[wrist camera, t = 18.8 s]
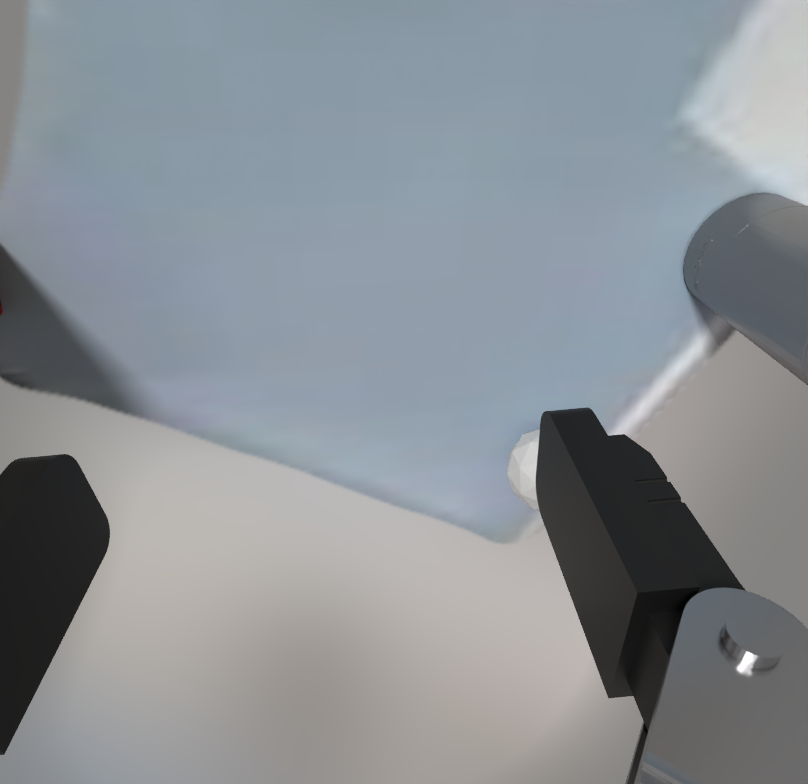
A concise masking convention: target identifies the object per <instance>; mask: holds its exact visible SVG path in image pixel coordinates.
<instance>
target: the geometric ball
mask: <svg viewBox="0 0 808 784" xmlns="http://www.w3.org/2000/svg"><path fill="white" fill-rule="evenodd" d="M539 434H540V429H537V430H534V431H531V432H528V433H525V434H523V436H522V437H521V438H520V440H519V441H518V442H517V444H516V445H515V446H514V448H513V449H512V450H511V452H510V453H509V461H508V468H507V475H508V478H509V481H510V484H511V487H512V489H513V492H514V494H515V495H516V496H517V497H518V498H520V499H521V500H522V501H523V502H525V503H526V504H527V505H528V506H529V507H531V508H532V509H533V510H539V506H538V501H537V495H536V468H537V457H538V445H539Z"/></svg>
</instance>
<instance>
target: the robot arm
mask: <svg viewBox="0 0 808 784" xmlns="http://www.w3.org/2000/svg"><path fill="white" fill-rule="evenodd" d="M683 270H684V279H685V282H686V285H687V287H688V289H689V290H690V292H691V293H692V294H693V296H694V297H696V298H697V299H698V300H700V301H701V302H702V303H703V304H705V305H706V306H707V307H709V308H710V309H711V310H712V311H714V312H715V313H716V314H717V315H719V316H720V317H721V318H722V319H723V320H725V321H726V322H727V323H729V324H730V325H731V326H732V327H734V328H735V329H736V330H738V331H739V332H740V333H741V334H743V335H744V336H745V337H747V338H748V339H749V340H750V341H752V342H753V343H754V344H755V345H757V346H758V347H759V348H761V349H762V350H763V351H765V352H766V353H767V354H768V355H770V356H771V357H772V358H774V359H775V360H776V361H777V362H779V363H780V364H781V365H782V366H784V367H785V368H787V369H788V370H789V371H790V372H791V373H793V374H794V375H796V376H797V377H798V378H799V379H800V380H802V381H803V382H804V383H806V384H807V385H808V206H806V205H804V204H801V203H798V202H796V201H793V200H790V199H788V198H785V197H782V196H780V195H777V194H770V193H756V194H750V195H747V196H743V197H740V198H738V199H736V200H734V201H732V202H730V203H728V204H726V205H724V206H723V207H722V208H720V209H719V210H717V211H716V212H715V213H713V214H712V215H711V216H710V217H709V218H708V219H707V220H706V221H705V222H704V223H703V225H702V226H701V227H700V228H699V230H698V231H697V232H696V234H695V235H694V237H693V239H692V241H691V243H690V245H689V247H688V250H687V253H686V256H685V260H684V269H683ZM536 495H537V501H538V506H539V510H540V513H541V516H542V519H543V522H544V524H545V527H546V530H547V532H548V535H549V538H550V541H551V543H552V546H553V549H554V551H555V554H556V557H557V560H558V562H559V565H560V568H561V571H562V573H563V576H564V579H565V581H566V584H567V587H568V590H569V592H570V595H571V598H572V600H573V603H574V606H575V608H576V611H577V614H578V617H579V619H580V622H581V625H582V627H583V630H584V633H585V636H586V638H587V641H588V644H589V647H590V649H591V652H592V655H593V657H594V660H595V663H596V665H597V668H598V671H599V674H600V676H601V679H602V682H603V685H604V687H605V690H606V693H607V695H608V698H615V697H625V696H634V698H635V701H636V703H637V706H638V708H639V711H640V713H641V716H642V718H643V720H644V721H643V724H642V727H641V730H640V734H639V738H638V741H637V744H636V748H635V752H634V755H633V759H632V762H631V766H630V769H629V773H628V776H627V780H626V784H808V629H807V628H806V627H805V626H804V625H803V623H802V622H800V621H799V620H798V619H797V618H796V617H795V616H794V615H792V614H791V613H789V612H788V611H787V610H786V609H784V608H783V607H781V606H779V605H778V604H776V603H774V602H773V601H771V600H769V599H767V598H764V597H762V596H760V595H757V594H755V593H752V592H748V591H746V590H745V589H744V588H743V587H742V585H741V584H740V583H739V581H738V580H737V578H736V577H735V575H734V574H733V573H732V571H731V570H730V568H729V567H728V565H727V564H726V562H725V561H724V560H723V558H722V557H721V555H720V554H719V552H718V551H717V549H716V548H715V547H714V545H713V543H712V542H711V541H710V539H709V538H708V536H707V535H706V534H705V532H704V531H703V529H702V527H701V526H700V525H699V523H698V522H697V520H696V519H695V517H694V516H693V514H692V513H691V511H690V510H689V509H688V507H687V506H686V504H685V503H682V502H681V497H680V496H679V494H678V493H677V491H676V490H675V488H674V487H673V485H672V484H671V482H667V477H666V475H665V474H664V472H663V471H662V469H661V468H660V466H659V465H658V464H657V462H656V461H655V459H654V458H653V456H652V455H651V454H650V453H649V452H648V451H647V450H645V449H644V448H642V447H641V446H640V445H638V444H637V443H636V442H634V441H633V440H631V439H630V438H629V437H627V436H626V435H624V434H623V435H612V436H608V435H607V433H606V432H605V430H604V428H603V427H602V425H601V424H600V422H599V420H598V419H597V417H596V415H595V414H594V412H593V411H592V410H591V409H590V408H578V409H567V410H556V411H545V412H544V413H543V414H542V417H541V423H540V434H539V445H538V457H537V468H536ZM109 538H110V529H109V523H108V519H107V517H106V514H105V513H104V511H103V509H102V507H101V505H100V503H99V502H98V500H97V498H96V496H95V494H94V492H93V490H92V489H91V486H90V485H89V483H88V481H87V479H86V477H85V475H84V473H83V472H82V470H81V468H80V466H79V464H78V463H77V461H76V460H75V459H74V458H73V457H72V456H69V455H66V454H63V455H52V456H41V457H30V458H20V459H17V460H14V461H13V462H11V463H10V464H9V465H8V467H7V468H6V469H5V470H4V471H3V472H2V474H1V475H0V755H4V754H5V752H6V750H7V748H8V746H9V744H10V742H11V740H12V738H13V736H14V734H15V732H16V730H17V728H18V726H19V724H20V722H21V720H22V718H23V716H24V714H25V712H26V710H27V708H28V706H29V704H30V702H31V700H32V698H33V696H34V694H35V692H36V691H37V689H38V686H39V685H40V683H41V680H42V678H43V677H44V674H45V673H46V671H47V669H48V667H49V665H50V663H51V661H52V659H53V657H54V655H55V653H56V651H57V649H58V647H59V645H60V643H61V641H62V639H63V637H64V635H65V633H66V631H67V629H68V627H69V625H70V623H71V621H72V619H73V617H74V615H75V613H76V611H77V609H78V607H79V605H80V603H81V602H82V600H83V598H84V595H85V594H86V592H87V590H88V588H89V586H90V584H91V581H92V580H93V578H94V576H95V574H96V572H97V570H98V568H99V566H100V564H101V562H102V560H103V558H104V556H105V554H106V552H107V548H108V544H109Z"/></svg>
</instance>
